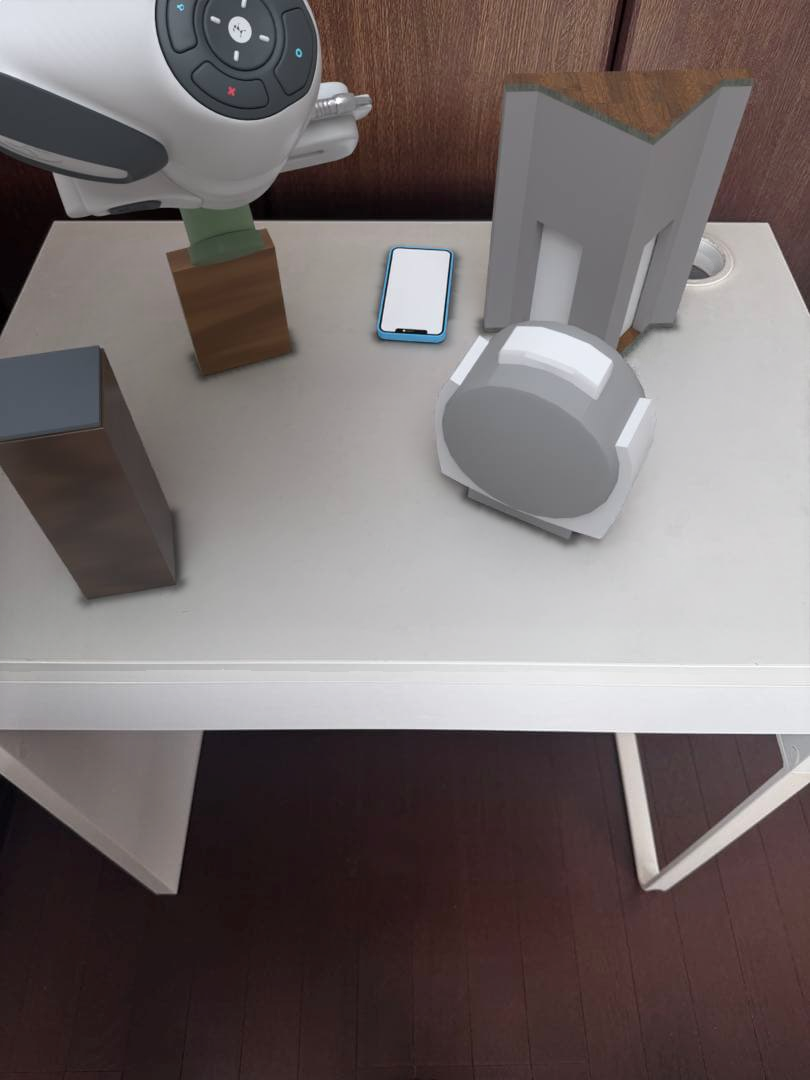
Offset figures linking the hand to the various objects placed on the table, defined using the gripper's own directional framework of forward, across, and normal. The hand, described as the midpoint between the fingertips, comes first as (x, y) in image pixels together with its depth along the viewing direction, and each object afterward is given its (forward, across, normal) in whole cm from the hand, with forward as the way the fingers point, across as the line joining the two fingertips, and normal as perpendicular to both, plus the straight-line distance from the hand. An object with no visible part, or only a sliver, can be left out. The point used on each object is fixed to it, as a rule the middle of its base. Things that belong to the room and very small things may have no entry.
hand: (203, 176), depth 65 cm
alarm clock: (+7, -22, +33) cm, 41 cm away
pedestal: (+13, +15, +28) cm, 35 cm away
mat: (-2, +15, +12) cm, 20 cm away
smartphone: (+29, -23, +12) cm, 39 cm away
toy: (+4, 0, +4) cm, 6 cm away
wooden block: (+28, -2, +14) cm, 31 cm away
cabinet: (+18, -36, +22) cm, 46 cm away
